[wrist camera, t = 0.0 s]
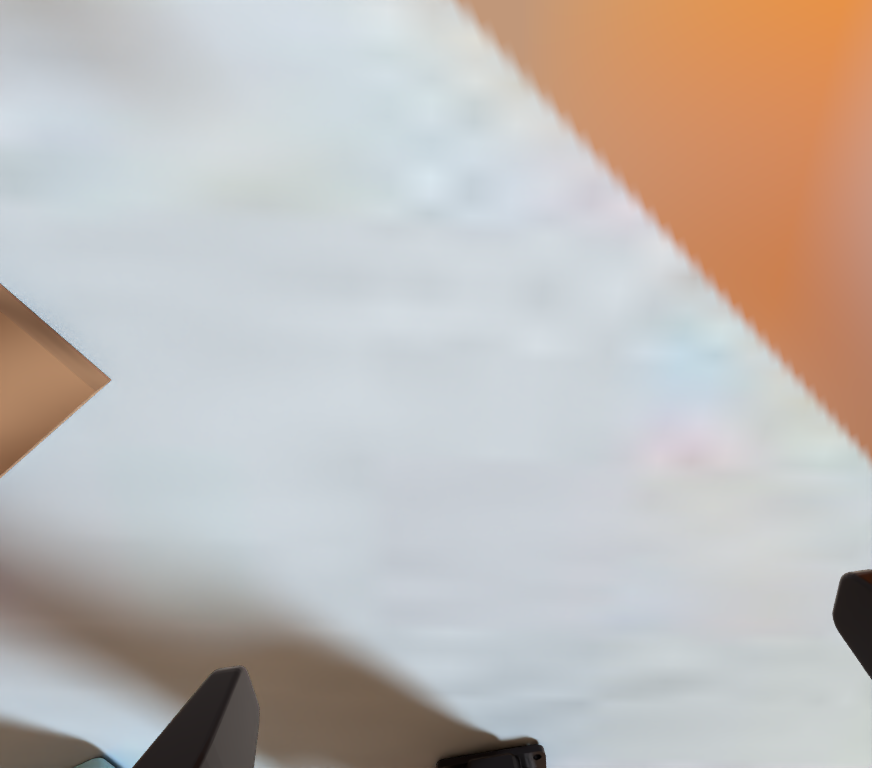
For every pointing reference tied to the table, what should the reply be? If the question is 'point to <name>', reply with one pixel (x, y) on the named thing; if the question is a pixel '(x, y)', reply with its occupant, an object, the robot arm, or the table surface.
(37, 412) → the tan flat rectangular slab
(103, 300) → the table surface
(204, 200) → the table surface
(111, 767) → the data package
